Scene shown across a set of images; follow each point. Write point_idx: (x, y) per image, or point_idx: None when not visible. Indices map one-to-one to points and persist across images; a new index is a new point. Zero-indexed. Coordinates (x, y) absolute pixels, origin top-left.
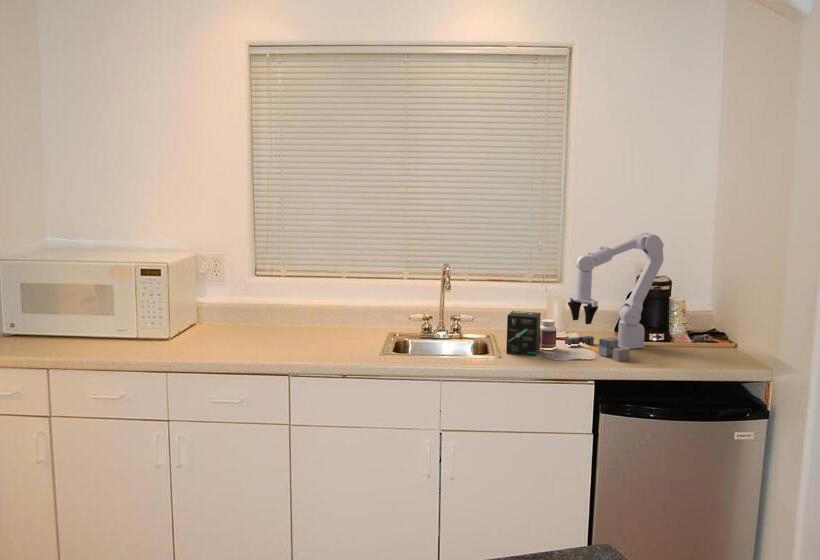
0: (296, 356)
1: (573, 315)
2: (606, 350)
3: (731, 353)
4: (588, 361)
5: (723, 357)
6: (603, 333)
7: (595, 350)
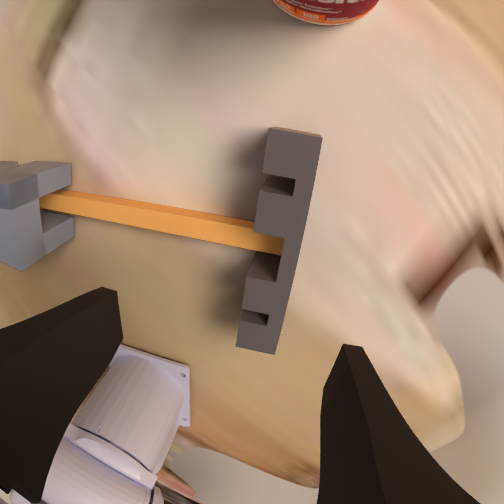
0: None
1: (353, 387)
2: (13, 168)
3: None
4: (35, 45)
5: None
6: None
7: (118, 200)
